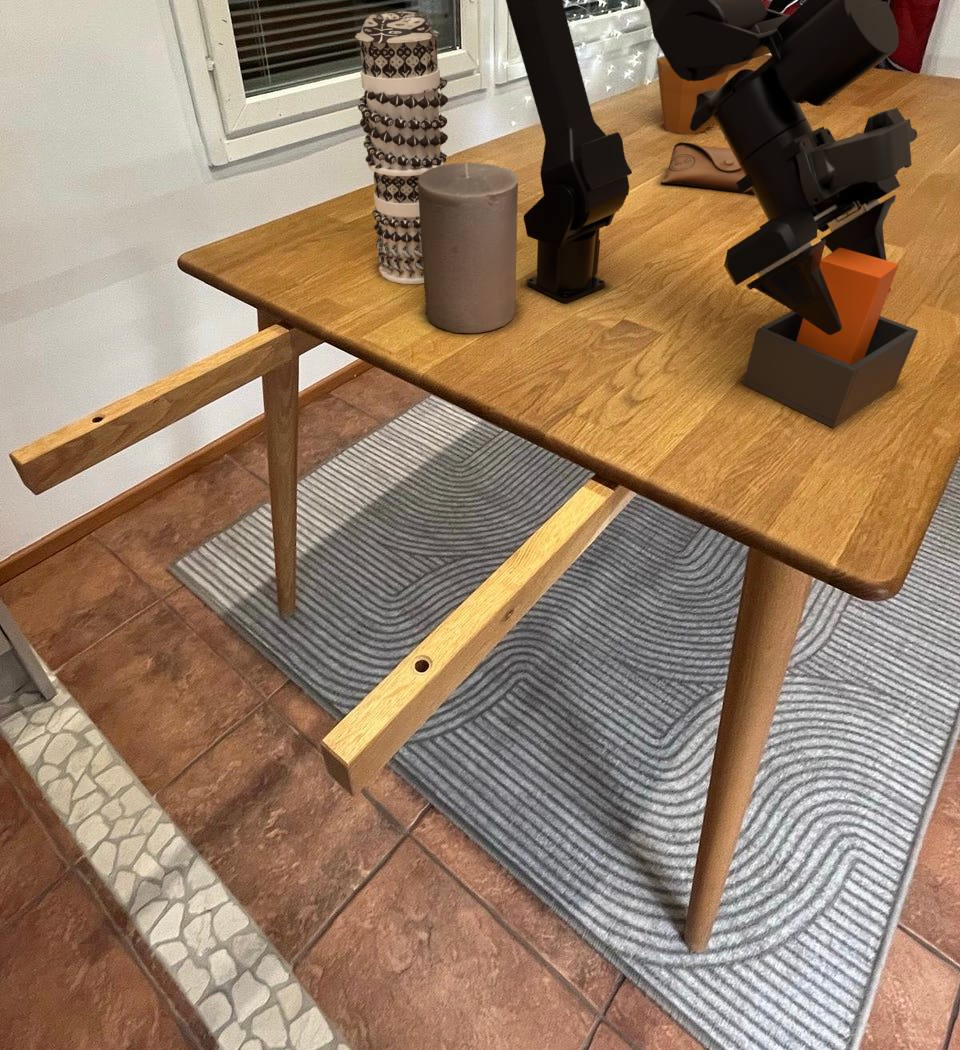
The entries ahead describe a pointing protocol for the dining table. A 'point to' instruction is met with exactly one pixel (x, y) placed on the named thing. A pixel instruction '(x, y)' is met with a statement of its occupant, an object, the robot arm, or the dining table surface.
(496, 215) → the pillar candle
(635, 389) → the dining table surface
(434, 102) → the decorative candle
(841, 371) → the trash bin
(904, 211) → the dining table surface
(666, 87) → the potted plant
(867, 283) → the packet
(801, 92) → the robot arm
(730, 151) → the sunglasses case
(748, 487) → the dining table surface
